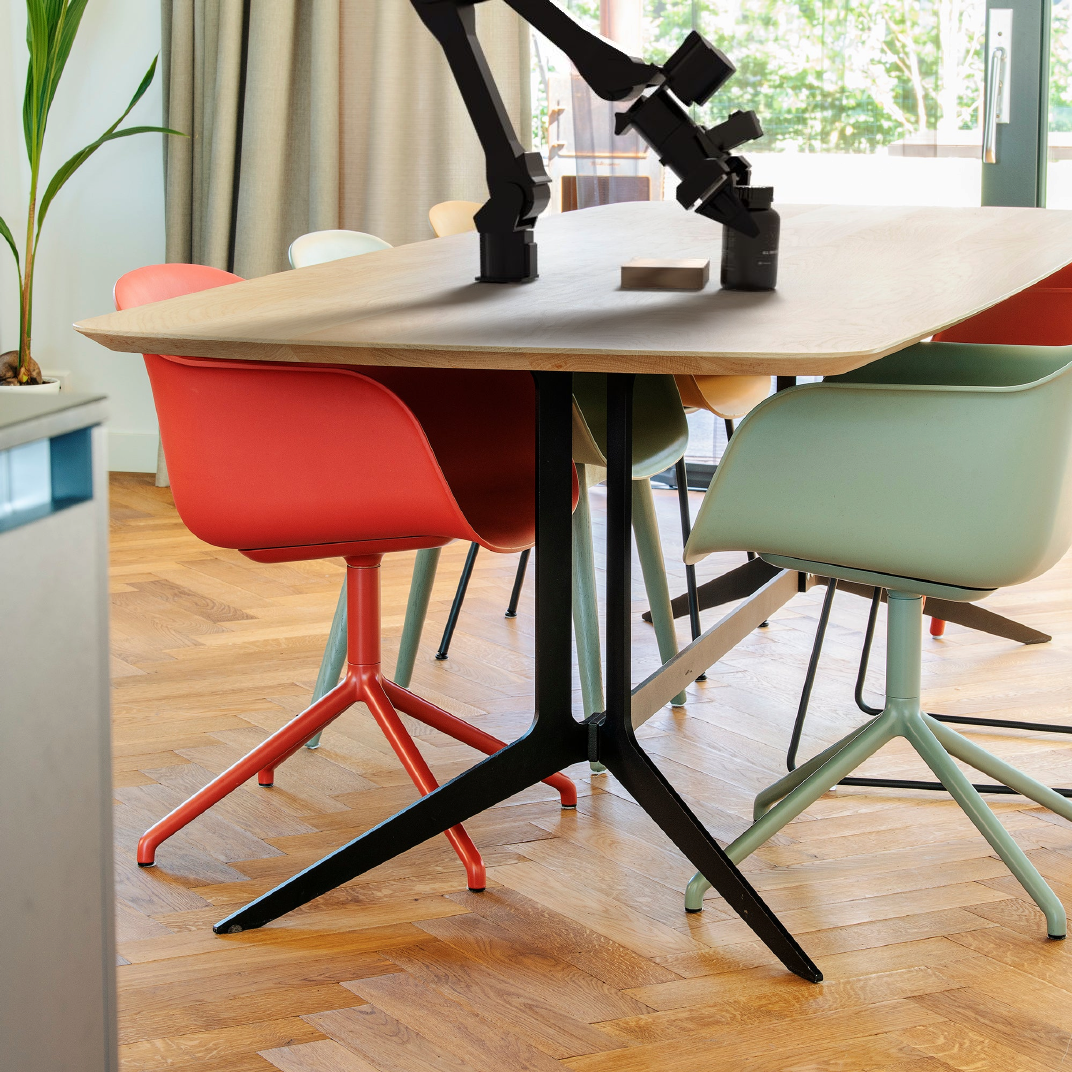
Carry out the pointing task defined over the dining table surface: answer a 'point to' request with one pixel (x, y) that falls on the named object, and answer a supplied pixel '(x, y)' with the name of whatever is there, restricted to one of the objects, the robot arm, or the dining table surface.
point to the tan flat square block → (665, 273)
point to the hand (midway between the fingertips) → (762, 232)
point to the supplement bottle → (752, 245)
